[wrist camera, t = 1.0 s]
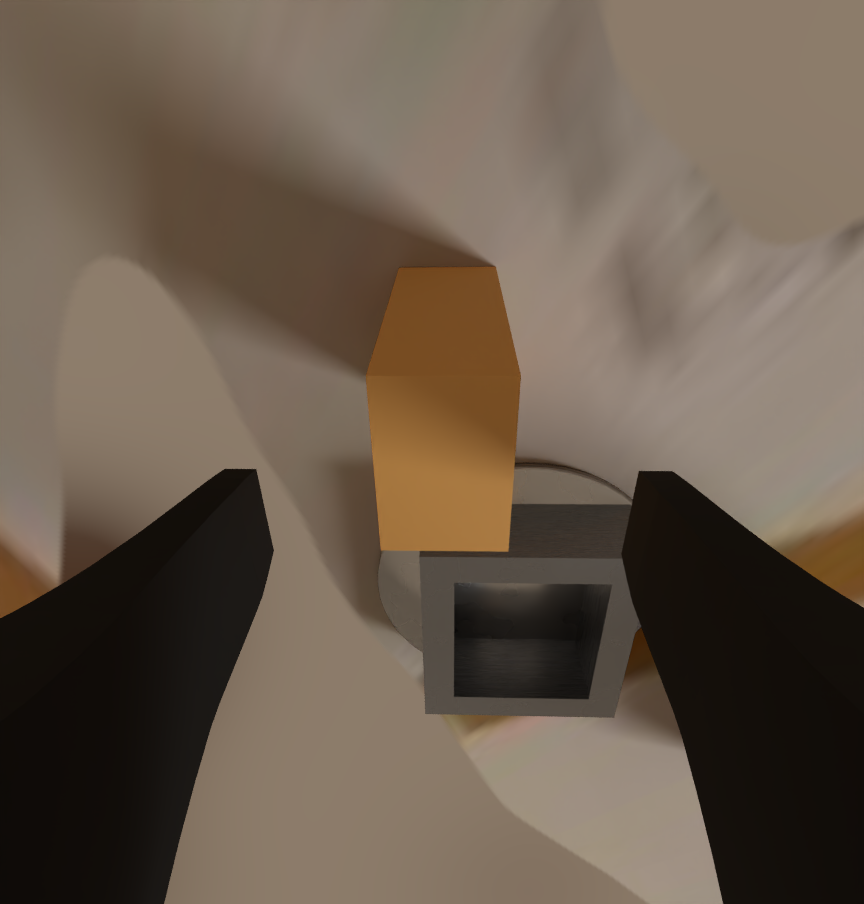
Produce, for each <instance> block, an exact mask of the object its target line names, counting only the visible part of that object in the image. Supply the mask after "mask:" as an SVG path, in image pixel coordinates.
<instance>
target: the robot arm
mask: <svg viewBox="0 0 864 904" xmlns="http://www.w3.org/2000/svg"><path fill="white" fill-rule="evenodd" d="M273 551H274V549H273V545H272V540H271V536H270V531H269V526H268V522H267V518H266V513H265V508H264V504H263V499H262V494H261V489H260V485H259V480H258V475H257V471H256V469H224V470H223V471H221V472H220V473H218V474H217V475H215V476H214V477H212V478H211V479H210V480H208V481H207V482H205V483H204V484H203V485H201V486H200V487H199V488H197V489H196V490H195V491H194V492H192V493H191V494H190V495H188V496H187V497H186V498H185V499H183V500H182V501H181V502H179V503H178V504H177V505H175V506H174V507H173V508H171V509H170V510H169V511H167V512H166V513H165V514H163V515H162V516H161V517H159V518H158V519H157V520H155V521H154V522H153V523H152V524H150V525H149V526H147V527H146V528H145V529H143V530H142V531H141V532H139V533H138V534H136V535H135V536H133V537H132V538H131V539H129V540H128V541H126V542H125V543H123V544H122V545H120V546H119V547H117V548H116V549H115V550H113V551H112V552H110V553H109V554H107V555H106V556H104V557H103V558H102V559H100V560H99V561H97V562H96V563H94V564H93V565H91V566H90V567H88V568H87V569H85V570H84V571H82V572H80V573H79V574H77V575H76V576H74V577H72V578H71V579H69V580H68V581H66V582H64V583H63V584H61V585H59V586H58V587H56V588H54V589H53V590H51V591H49V592H47V593H46V594H44V595H42V596H41V597H39V598H37V599H35V600H34V601H32V602H30V603H29V604H27V605H25V606H23V607H21V608H19V609H18V610H16V611H14V612H12V613H10V614H8V615H6V616H4V617H2V618H0V904H164V901H165V897H166V893H167V889H168V885H169V881H170V876H171V873H172V868H173V864H174V860H175V856H176V852H177V848H178V843H179V839H180V836H181V832H182V828H183V824H184V821H185V817H186V814H187V810H188V806H189V802H190V799H191V795H192V791H193V787H194V784H195V780H196V777H197V773H198V770H199V766H200V763H201V760H202V756H203V753H204V749H205V745H206V742H207V739H208V735H209V732H210V729H211V726H212V723H213V720H214V717H215V714H216V712H217V709H218V706H219V703H220V701H221V698H222V696H223V693H224V691H225V688H226V686H227V683H228V681H229V678H230V676H231V673H232V671H233V669H234V666H235V664H236V661H237V659H238V656H239V654H240V651H241V649H242V647H243V644H244V642H245V639H246V637H247V634H248V632H249V629H250V627H251V624H252V622H253V619H254V617H255V614H256V612H257V609H258V606H259V604H260V601H261V599H262V596H263V592H264V588H265V584H266V581H267V577H268V573H269V569H270V564H271V560H272V556H273ZM621 555H622V560H623V565H624V569H625V574H626V579H627V583H628V587H629V591H630V595H631V599H632V603H633V606H634V608H635V611H636V614H637V617H638V619H639V622H640V625H641V627H642V630H643V633H644V635H645V638H646V641H647V643H648V646H649V649H650V651H651V654H652V657H653V659H654V662H655V664H656V667H657V670H658V672H659V675H660V678H661V680H662V683H663V685H664V688H665V691H666V693H667V696H668V698H669V701H670V704H671V706H672V709H673V712H674V715H675V718H676V721H677V724H678V727H679V730H680V733H681V736H682V739H683V743H684V746H685V750H686V754H687V758H688V761H689V765H690V769H691V772H692V776H693V780H694V784H695V787H696V791H697V795H698V799H699V803H700V807H701V811H702V815H703V819H704V823H705V827H706V831H707V835H708V839H709V843H710V847H711V852H712V856H713V860H714V864H715V869H716V873H717V878H718V882H719V887H720V891H721V896H722V900H723V904H864V608H863V607H861V606H860V605H858V604H856V603H855V602H853V601H851V600H850V599H848V598H846V597H845V596H843V595H841V594H840V593H838V592H837V591H835V590H833V589H832V588H830V587H829V586H827V585H826V584H824V583H822V582H821V581H819V580H818V579H816V578H815V577H813V576H812V575H811V574H809V573H808V572H806V571H805V570H803V569H802V568H800V567H799V566H797V565H796V564H795V563H793V562H792V561H790V560H789V559H787V558H786V557H784V556H783V555H782V554H780V553H779V552H777V551H776V550H775V549H773V548H772V547H771V546H769V545H768V544H766V543H765V542H764V541H762V540H761V539H760V538H758V537H757V536H756V535H754V534H753V533H752V532H750V531H749V530H748V529H746V528H745V527H744V526H743V525H741V524H740V523H739V522H737V521H736V520H735V519H734V518H732V517H731V516H730V515H728V514H727V513H726V512H725V511H723V510H722V509H721V508H720V507H718V506H717V505H716V504H715V503H713V502H712V501H711V500H709V499H708V498H707V497H706V496H704V495H703V494H702V493H701V492H699V491H698V490H697V489H696V488H694V487H693V486H692V485H690V484H689V483H688V482H687V481H685V480H684V479H683V478H681V477H680V476H678V475H677V474H676V473H674V472H673V471H639V473H638V478H637V483H636V487H635V492H634V497H633V501H632V506H631V511H630V515H629V520H628V525H627V529H626V534H625V539H624V544H623V548H622V553H621Z"/></svg>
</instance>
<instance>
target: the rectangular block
mask: <svg viewBox="0 0 864 904" xmlns="http://www.w3.org/2000/svg"><path fill="white" fill-rule="evenodd" d="M520 381H521V374H520V370H519V365H518V361H517V357H516V352H515V348H514V344H513V339H512V335H511V331H510V326H509V322H508V318H507V313H506V309H505V305H504V301H503V296H502V292H501V288H500V283H499V279H498V275H497V270H496V267H404V268H399V270H398V273H397V276H396V279H395V283H394V286H393V289H392V292H391V296H390V299H389V302H388V305H387V309H386V312H385V315H384V318H383V322H382V325H381V328H380V331H379V335H378V338H377V341H376V344H375V348H374V351H373V354H372V357H371V360H370V364H369V367H368V370H367V373H366V385H367V396H368V408H369V419H370V431H371V443H372V454H373V466H374V477H375V489H376V500H377V512H378V523H379V535H380V547H381V550H389V551H498V552H508V550H509V536H510V522H511V508H512V493H513V479H514V465H515V451H516V437H517V423H518V409H519V395H520Z"/></svg>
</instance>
